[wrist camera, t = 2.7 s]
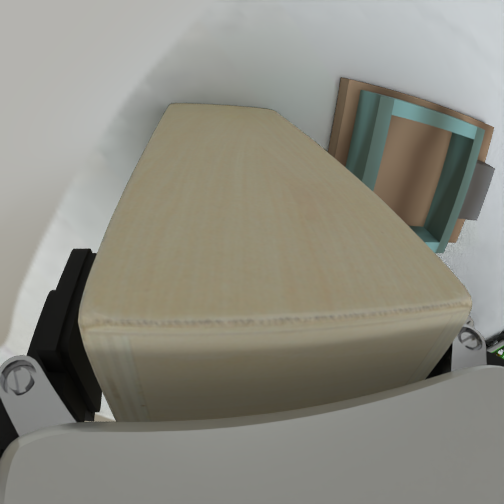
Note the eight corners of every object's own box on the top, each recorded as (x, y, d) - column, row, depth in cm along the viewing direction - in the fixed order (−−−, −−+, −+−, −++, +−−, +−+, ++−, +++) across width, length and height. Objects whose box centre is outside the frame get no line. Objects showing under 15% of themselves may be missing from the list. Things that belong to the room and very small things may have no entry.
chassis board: (484, 123, 26) (514, 136, 22) (448, 235, 33) (471, 257, 29) (340, 77, 22) (368, 83, 18) (311, 231, 30) (328, 259, 26)
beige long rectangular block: (163, 193, 25) (141, 474, 8) (166, 102, 21) (66, 313, 4) (261, 196, 27) (371, 446, 10) (274, 109, 23) (488, 294, 6)
